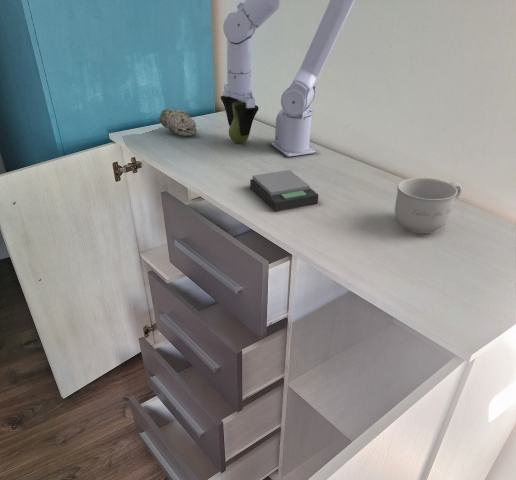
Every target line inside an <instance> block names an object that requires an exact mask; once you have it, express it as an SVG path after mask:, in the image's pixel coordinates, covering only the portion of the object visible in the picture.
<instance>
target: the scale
mask: <svg viewBox="0 0 516 480" xmlns="http://www.w3.org/2000/svg"><path fill="white" fill-rule="evenodd" d="M249 185H250V186H249V190H251V191H252V192H253V193H254V194H255V195H256V196H257V197H258V198H259V199H261V200H262V202H264V203H265V204H266V205H267V206H268V207H269V208H270V209H271V210H272V211H273V212H282V211H286V210H291V209H297V208H301V207H307V206H312V205H317V204H318V203H319V194H318V192H316V191H315V190H313V189H312V187H311V186H310V185H309V184H308V183H307V182H306V181H305V180H303V179H302V178H301V177H299V176H298V175H297V174H295V173H294V172H293V171H292V170H291V169H286V170H280V171H274V172H267V173H261V174H254V175H252V179H249Z"/></svg>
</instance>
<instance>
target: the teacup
mask: <svg viewBox="0 0 516 480" xmlns="http://www.w3.org/2000/svg"><path fill="white" fill-rule="evenodd" d="M396 187H397V192H396V198H395V205H394V216H395V219H396V220H397V222H398V223H399V224H400V225H401V226H402V228H404V229H405V230H407V231H409V232H412V233H416V234H429V233H434V232H436V231H438V230H440V229H442V228H443V227H444V226H446V225H447V223H448V222H449V220H450V219H451V216H452V212H453V209H454V205H455V202H457V200H458V199H459V198H460V196H461V194H462V185H461V184H460V183H459V182H456V181H451V182H447V181H445V180H441V179H437V178H432V177H429V178H428V177H411V178H407V179H403V180H401V181H400V182H399V183H397V186H396Z"/></svg>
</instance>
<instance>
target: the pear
mask: <svg viewBox="0 0 516 480" xmlns="http://www.w3.org/2000/svg"><path fill="white" fill-rule="evenodd" d="M237 105H242V102H240V101H236V102H233V103H232V110H233V114H234V118H233V121H232V123H231V126H229V128H228V136H229V139H230V140H231V141H232V142H234V143H236V144H243V143H245V142H247V140H248V139H249V137H250V134H249V135H246V136H241V134H240V128H239V120H238V115H237V112H236V110H235V108H234V106H237Z"/></svg>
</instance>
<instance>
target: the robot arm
mask: <svg viewBox="0 0 516 480" xmlns="http://www.w3.org/2000/svg"><path fill="white" fill-rule="evenodd" d="M355 1H356V0H329V2H328V4H327V6H326V9H325V11H324V14H323V15H322V18H321V20H320V23H319V24H318V27H317V29H316V31H315V34H314V35H313V37H312V40H311V43H310V45H309V47H308V49H307V52H306V54H305V56H304V59H303V60H302V63H301V65H300V67H299V70H298V71H297V72H296V74H295V76H294V78H293V80H292V82H291V84H290V86H289V87H287V88H286V89H285V90H284V91H283V92H282V94H281V98H280V106H281V108H282V109H281V110H279V111H278V113H277V114H276V119H275V130H274V141H272V142H271V146H273V147H274V148H275V149H277V150H278V151H279V152H281V153H282V154H283V155H284V156H286V157H287V158H290V157H291V158H292V157H298V156H304V155H310V154H316V150H315V149H314V148H312V147H310V140H311V130H312V119H313V108H312V106H311V104H312V103H313V102H314V100H315V98H316V89H317V88H316V87H317V85H318V83H319V80H320V77H321V76H320V75H321V73H322V71H323V69H324V67H325V65H326V63H327V61H328V58H329V57H330V55H331V52H332V50H333V48H334V46H335V44H336V41H337V40H338V37H339V35H340V34H341V31H342V29H343V27H344V25H345V23H346V21H347V19H348V17H349V14H350V13H351V10H352V9H353V6H354V4H355ZM280 2H281V0H244V1H243V3H242V2H239V3H238V4H237V5H236V8H237V10H236V11H232V12H230V13H228V14H227V16H226V18H225V19H224V22H223V26H222V27H223V33H224V36H225V38H226V73H227V74H226V82H227V83H224V84H223V86H224V87H223V88H224V89H223V90H224V91H222V95H221V96H220V100H221V102H222V104H223V107H224V110H225V113H226V119H227V123H228V126H229V127H230V126H231V123H232V121H233V118H234V114H233V110H232V103H233V102H236V101H240V102H242V105H237V106H234V108H235V110H236V112H237V115H238V120H239V128H240V134H241V136H246V135H249V136H250V133H251V129H252V125H253V122H254V119H255V117H256V115H257V113H258V112H259V109H260V108H259V106H258V105H257V104H256V98H254V95H253V91H252V52H253V51H252V42H253V41H252V37H253V36H254V34H255V33H256V30H258V29H259V28H260V27H261V26H262V25H263V24H264V23H265V22H266V21H267V20H269V18H271V16H273V15H274V14H275V13H276V12H278V10H279V9H280V4H281V3H280Z"/></svg>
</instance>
